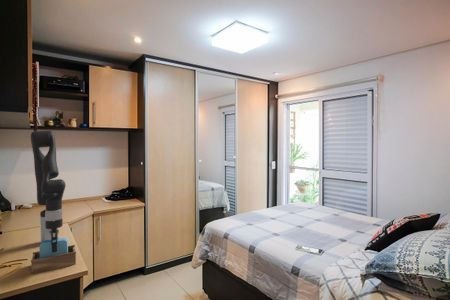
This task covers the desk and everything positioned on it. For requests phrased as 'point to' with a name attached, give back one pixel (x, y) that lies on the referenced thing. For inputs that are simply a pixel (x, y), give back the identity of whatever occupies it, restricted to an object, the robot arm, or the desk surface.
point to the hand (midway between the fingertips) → (54, 249)
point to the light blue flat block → (47, 247)
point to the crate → (53, 260)
